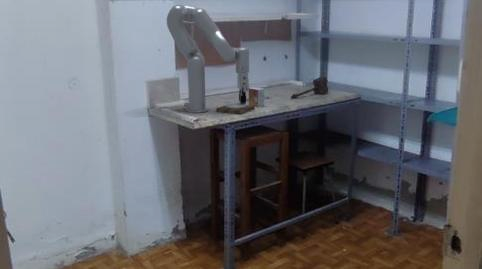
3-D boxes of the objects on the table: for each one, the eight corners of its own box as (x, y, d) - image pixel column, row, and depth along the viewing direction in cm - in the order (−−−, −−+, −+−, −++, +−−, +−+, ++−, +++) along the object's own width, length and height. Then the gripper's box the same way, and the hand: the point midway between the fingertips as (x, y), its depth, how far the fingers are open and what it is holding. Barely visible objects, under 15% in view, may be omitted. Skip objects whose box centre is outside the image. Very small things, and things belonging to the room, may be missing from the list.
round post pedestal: (239, 109, 275) (239, 96, 274) (221, 107, 281) (221, 94, 280) (250, 105, 285) (250, 93, 284) (232, 104, 291) (232, 91, 289)
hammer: (329, 91, 336) (327, 77, 332) (296, 107, 317) (294, 92, 314) (321, 90, 341) (320, 76, 337) (288, 105, 322) (286, 91, 319)
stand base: (216, 111, 281) (216, 107, 280) (230, 106, 294) (230, 103, 294) (241, 114, 273) (241, 110, 273) (254, 109, 287) (254, 105, 286)
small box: (248, 105, 298) (248, 88, 296) (254, 104, 302) (254, 87, 299) (258, 107, 293) (258, 89, 290) (264, 106, 296) (264, 88, 294)
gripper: (252, 71, 272) (252, 104, 276) (246, 67, 287) (246, 99, 292) (238, 71, 270) (238, 104, 275) (233, 68, 286) (233, 99, 291)
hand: (242, 101), depth 283 cm, fingers open, 4 cm apart
